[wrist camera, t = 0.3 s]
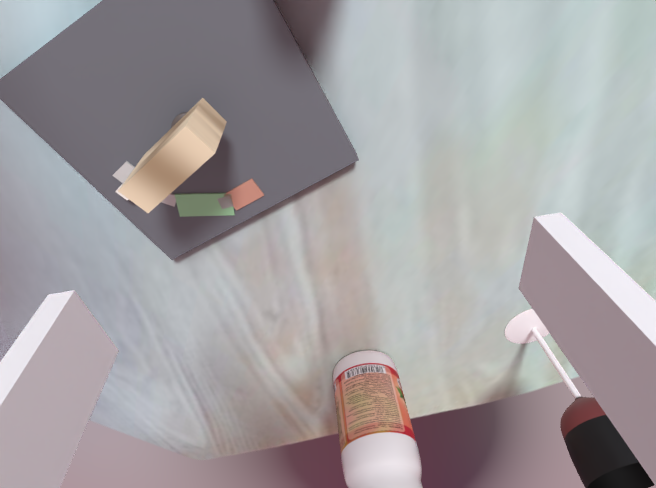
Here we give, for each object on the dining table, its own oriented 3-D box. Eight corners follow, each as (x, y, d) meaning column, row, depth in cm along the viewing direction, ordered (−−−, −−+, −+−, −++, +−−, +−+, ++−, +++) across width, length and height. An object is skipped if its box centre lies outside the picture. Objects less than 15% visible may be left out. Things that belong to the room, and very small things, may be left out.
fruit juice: (360, 339, 54) (412, 616, 31) (408, 362, 57) (485, 622, 35) (319, 375, 58) (339, 642, 35) (366, 393, 62) (411, 645, 39)
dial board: (0, 82, 31) (-13, 88, 30) (225, -90, 26) (221, -92, 25) (175, 251, 42) (171, 261, 41) (356, 153, 37) (359, 160, 36)
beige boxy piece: (205, 87, 31) (183, 123, 24) (232, 114, 32) (217, 155, 26) (110, 180, 35) (69, 233, 28) (137, 201, 36) (105, 256, 30)
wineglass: (559, 336, 57) (666, 486, 41) (499, 349, 58) (581, 502, 42) (566, 299, 52) (689, 452, 36) (501, 314, 53) (593, 471, 37)
